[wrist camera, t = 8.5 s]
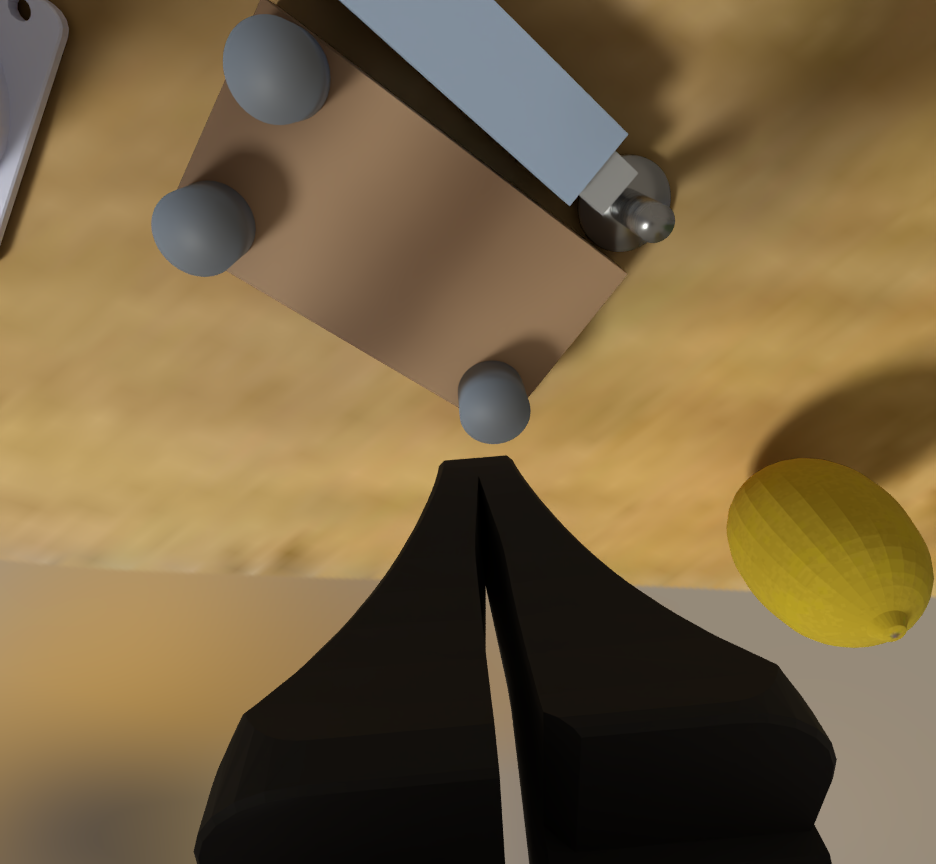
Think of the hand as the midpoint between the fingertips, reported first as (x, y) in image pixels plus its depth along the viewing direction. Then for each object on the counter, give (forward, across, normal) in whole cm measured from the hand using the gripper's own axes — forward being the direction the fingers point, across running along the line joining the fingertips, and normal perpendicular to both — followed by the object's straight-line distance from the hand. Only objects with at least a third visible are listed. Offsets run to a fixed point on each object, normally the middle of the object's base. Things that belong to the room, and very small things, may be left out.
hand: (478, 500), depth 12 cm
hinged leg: (+10, -1, -8) cm, 12 cm away
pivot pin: (+10, -5, -4) cm, 12 cm away
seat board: (+10, +2, -3) cm, 10 cm away
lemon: (+10, -12, +8) cm, 17 cm away
